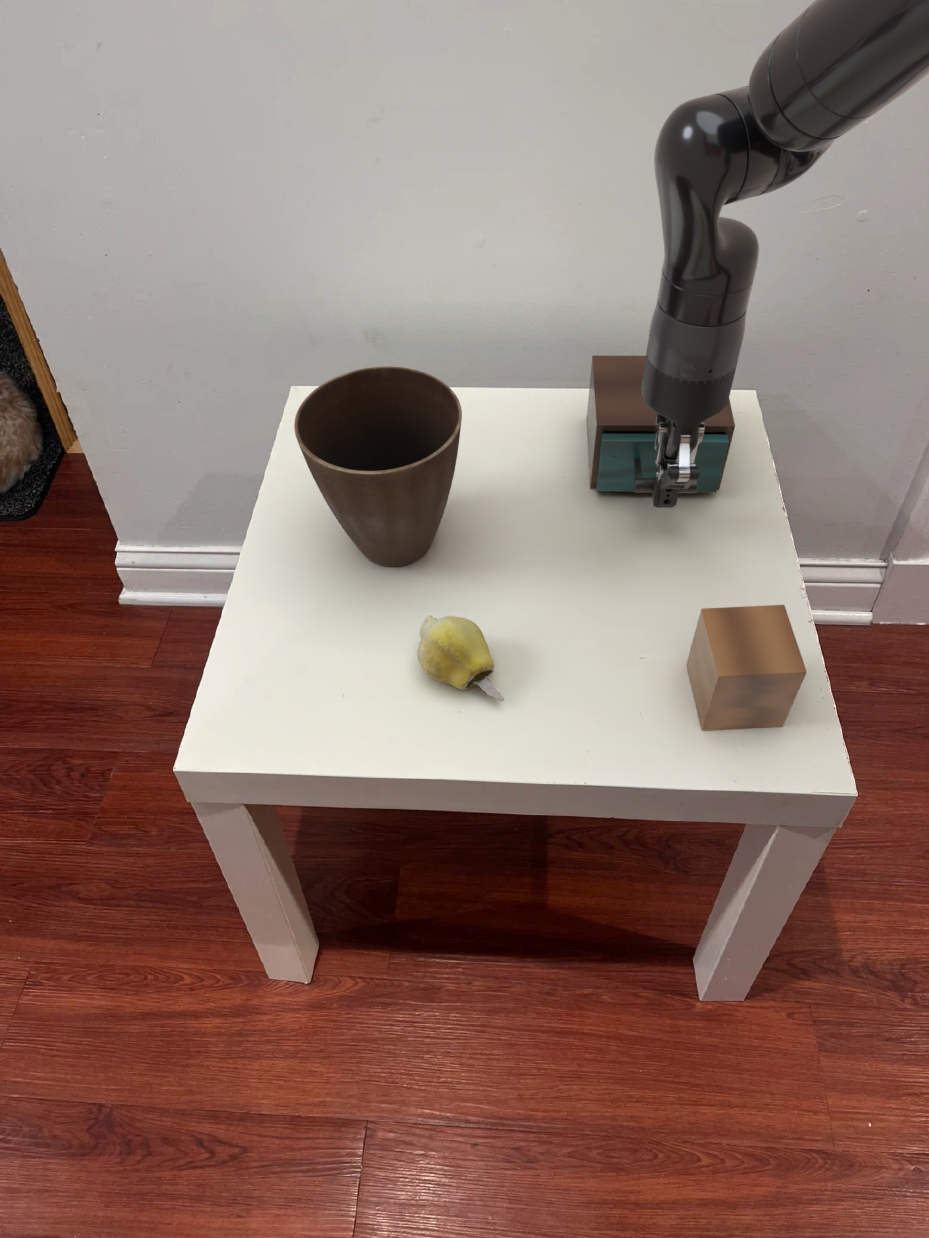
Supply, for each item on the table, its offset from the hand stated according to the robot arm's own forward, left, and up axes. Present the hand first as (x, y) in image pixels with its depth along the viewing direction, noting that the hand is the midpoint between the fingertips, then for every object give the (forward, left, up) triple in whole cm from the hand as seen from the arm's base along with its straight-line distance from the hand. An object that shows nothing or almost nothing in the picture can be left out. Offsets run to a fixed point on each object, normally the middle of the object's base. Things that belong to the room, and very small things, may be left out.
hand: (663, 502), depth 90 cm
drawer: (+3, -8, -4) cm, 9 cm away
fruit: (+12, +23, -5) cm, 26 cm away
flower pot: (+25, +10, -5) cm, 27 cm away
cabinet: (+4, -12, -5) cm, 13 cm away
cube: (-11, +17, -5) cm, 21 cm away
